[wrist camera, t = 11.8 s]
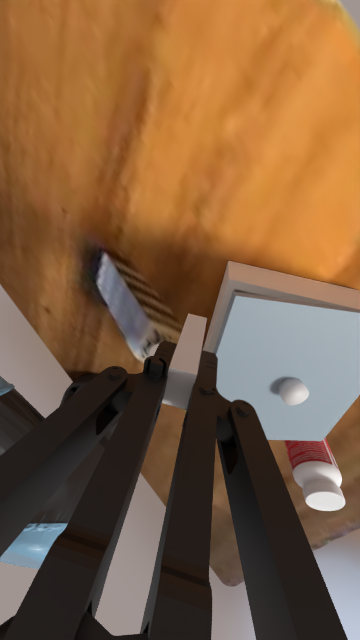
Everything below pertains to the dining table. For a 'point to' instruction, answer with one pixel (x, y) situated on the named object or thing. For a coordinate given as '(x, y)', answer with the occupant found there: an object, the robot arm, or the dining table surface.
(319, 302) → the box
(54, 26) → the dining table surface
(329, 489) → the pill bottle
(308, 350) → the lid
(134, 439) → the robot arm
